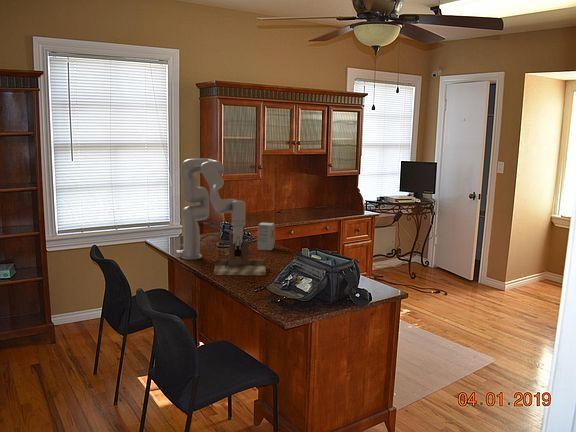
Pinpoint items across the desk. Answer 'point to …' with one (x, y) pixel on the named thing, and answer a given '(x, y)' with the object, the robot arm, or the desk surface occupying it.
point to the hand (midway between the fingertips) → (237, 254)
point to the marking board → (240, 268)
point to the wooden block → (244, 252)
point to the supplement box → (265, 236)
